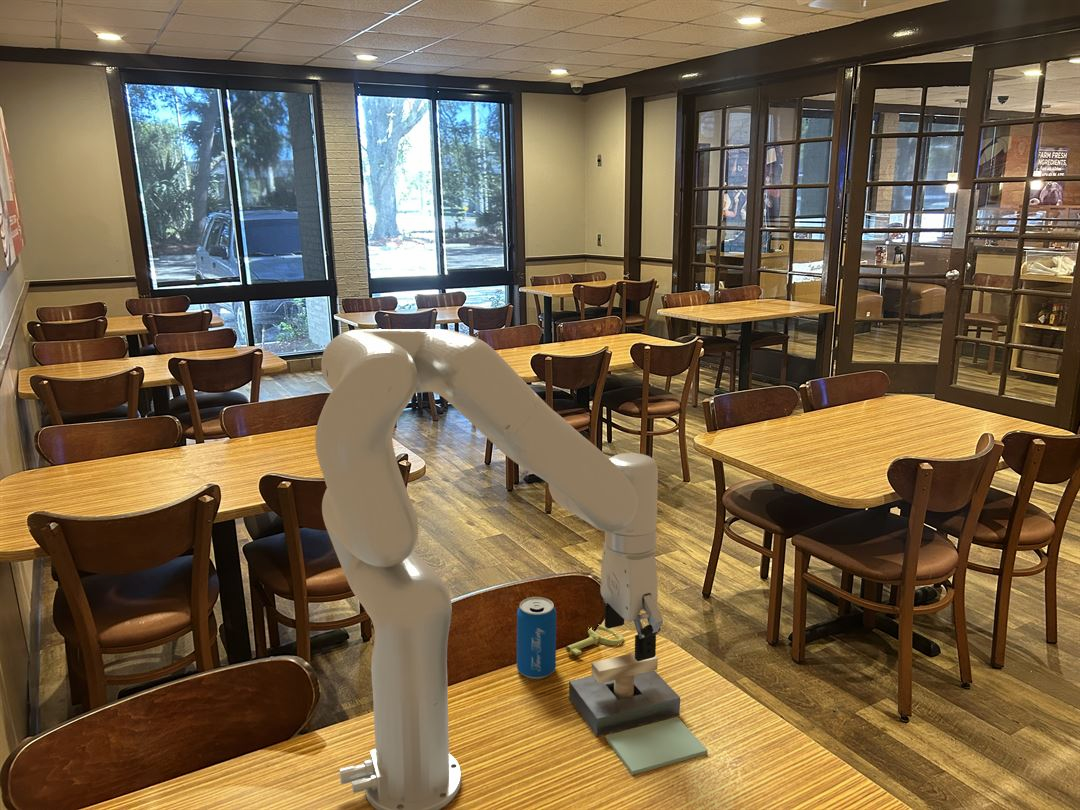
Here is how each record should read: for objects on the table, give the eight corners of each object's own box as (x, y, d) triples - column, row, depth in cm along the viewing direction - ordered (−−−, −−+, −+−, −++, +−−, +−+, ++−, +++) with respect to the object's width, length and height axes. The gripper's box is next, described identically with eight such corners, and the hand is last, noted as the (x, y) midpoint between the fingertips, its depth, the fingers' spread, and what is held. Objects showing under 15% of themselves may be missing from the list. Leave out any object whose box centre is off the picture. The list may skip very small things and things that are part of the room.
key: (563, 658, 133) (563, 647, 132) (593, 627, 143) (594, 616, 143) (601, 670, 129) (601, 658, 129) (629, 637, 140) (630, 626, 139)
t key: (598, 719, 116) (599, 672, 114) (589, 708, 118) (591, 661, 117) (656, 704, 119) (658, 658, 118) (646, 694, 122) (648, 648, 120)
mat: (632, 775, 104) (632, 771, 104) (605, 739, 111) (605, 735, 111) (707, 753, 108) (707, 749, 108) (677, 720, 116) (677, 716, 116)
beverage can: (517, 681, 125) (517, 615, 122) (516, 660, 131) (516, 595, 129) (556, 681, 125) (557, 614, 123) (554, 659, 132) (555, 595, 129)
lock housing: (596, 736, 112) (597, 718, 111) (568, 698, 121) (569, 681, 120) (679, 715, 117) (680, 697, 116) (646, 679, 126) (647, 663, 125)
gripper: (582, 520, 119) (582, 619, 123) (636, 566, 103) (634, 678, 108) (625, 513, 122) (624, 610, 126) (684, 556, 106) (680, 666, 110)
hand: (629, 641), depth 117 cm, fingers open, 9 cm apart
